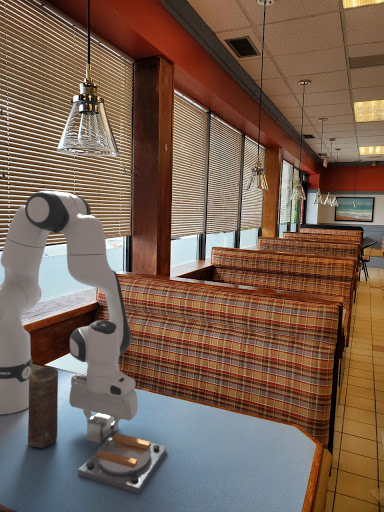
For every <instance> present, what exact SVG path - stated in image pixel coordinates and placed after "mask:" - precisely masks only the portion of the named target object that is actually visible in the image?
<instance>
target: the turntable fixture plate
mask: <svg viewBox="0 0 384 512" xmlns="http://www.w3.org/2000/svg"><path fill="white" fill-rule="evenodd" d="M166 453H167V446H165V445H161V444H158V443H153V442H151V441H148V440H145V439H142V438H140V437H138V436H137V437H136V436H129V435H125V434H121V433H117V432H116V433H115V432H111V433H110V435H109V436H108V438H107V439H105V440H104V441H103V442H102V444H101V445H100V446H98V448H97V449H96V450H95V451H94V452H93V453H92V454H91V455H90V456H89V457H88V458H87V460H86V461H84V463H83V464H82V465H81V466H79V468H78V469H77V476H79V477H83V478H86V479H88V480H92V481H96V482H98V481H99V483H101V482H102V484H106V485H108V486H112V487H115V488H119V489H122V490H125V491H128V492H131V493H134V494H137V495H139V494H140V493H141V491H142V490H143V488H144V486H145V485H146V483H147V482H148V481H149V479H150V478H151V476H152V474H153V473H154V471H155V470H156V468H157V467H158V465H159V463H160V462H161V461H162V459H163V457H164V456H165V455H166Z"/></svg>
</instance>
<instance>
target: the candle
mask: <svg viewBox="0 0 384 512" xmlns="http://www.w3.org/2000/svg"><path fill="white" fill-rule="evenodd" d="M58 390H59V370H58V369H57V368H56V367H53V366H41V367H39V368H36V369H34V370H33V371H32V373H31V374H30V375H29V407H28V421H27V445H29V446H30V447H34V448H35V447H36V448H40V449H43V448H45V447H47V446H48V447H49V446H50V445H51V444H53V443H54V442H56V441H57V439H58V426H59V425H58V414H59V413H58V406H59V405H58V404H59V403H58V402H59V399H58V397H59V394H58V392H59V391H58Z"/></svg>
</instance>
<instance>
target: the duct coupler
mask: <svg viewBox="0 0 384 512" xmlns="http://www.w3.org/2000/svg"><path fill="white" fill-rule="evenodd" d="M93 416H94V417H93V418H92V419H91V420H89V421H88V423H87V422H86V426H87V427H86V440H87V441H90V442H91V443H92V442H94V443H96V444H101V443H103V442H104V441H105V440H106V437H109V434H111V433H112V431H113V430H111V429H110V428H111V427H110V426H111V423H113V422H114V421H116V420H114V417H112V416H108V415H104V414H100V413H97V414H95V415H93Z"/></svg>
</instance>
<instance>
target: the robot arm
mask: <svg viewBox="0 0 384 512" xmlns="http://www.w3.org/2000/svg"><path fill="white" fill-rule="evenodd" d="M91 210H92V209H91V206H90V203H89V202H88V201H87V200H86V199H84V198H83V197H81V196H80V195H77V194H73V193H70V192H65V191H50V190H40V191H37V192H35V193H32V194H31V195H30V196H29V197H28V198H27V200H26V201H25V204H24V205H22V206H20V207H19V208H18V209H17V210H16V212H15V213H14V216H13V218H12V220H11V222H10V225H9V228H8V231H7V235H6V238H5V242H4V246H3V249H2V253H1V257H0V264H1V265H2V267H3V268H4V279H3V281H2V283H1V284H0V415H7V414H14V413H19V412H21V411H24V410H27V409H29V375H30V374H31V373H32V372H33V371H32V370H33V358H32V355H31V334H30V333H29V331H27V330H26V329H25V327H24V324H23V321H22V316H23V314H25V313H27V312H29V311H31V310H32V309H33V308H35V306H36V305H37V304H38V303H39V302H40V300H41V298H42V289H41V287H40V285H39V274H40V267H41V264H42V259H43V255H44V252H45V248H46V246H47V245H46V244H47V240H48V237H49V234H50V233H53V234H58V233H62V235H63V236H64V238H65V242H66V262H67V270H68V271H67V272H68V273H69V274H70V276H71V277H72V278H73V279H74V280H75V281H77V282H78V283H80V284H82V285H86V286H87V287H88V286H89V287H92V288H96V289H99V290H100V291H101V292H102V293H103V295H104V296H105V301H106V305H107V311H108V316H109V319H108V320H104V319H102V320H101V319H100V320H95V321H93V322H91V323H90V324H89V325H87V326H81V327H77V328H75V329H74V330H73V331H72V333H71V335H70V336H69V340H68V347H69V348H68V350H69V353H70V355H71V356H72V357H73V359H76V360H77V361H80V362H81V363H86V364H87V368H86V375H82V374H79V373H78V374H75V375H73V376H72V377H71V379H70V385H71V386H70V391H69V397H68V398H69V400H68V401H69V404H70V406H71V407H73V408H77V409H80V410H83V412H82V413H83V414H84V417H85V418H86V424H87V423H88V421H89V420H91V419H92V418H93V417H94V416H95V415H93V414H92V412H93V413H97V414H98V413H100V414H104V415H108V416H112V417H114V420H116V421H114V422H113V423H111V426H110V427H111V428H110V429H111V430H112V431H115V432H117V430H118V428H119V423H120V422H121V420H125V421H131V420H132V419H133V418H135V417H136V415H137V414H138V395H137V391H136V390H135V389H134V388H135V387H136V380H135V379H133V378H132V377H130V376H128V375H127V374H126V373H124V372H122V371H121V370H120V365H119V358H120V355H122V354H124V353H126V351H127V350H128V349H129V348H130V346H131V344H132V340H133V339H132V338H133V336H132V331H131V328H130V326H129V322H128V318H127V313H126V308H125V301H124V296H123V293H122V292H123V291H122V288H121V282H120V279H119V277H118V273H117V272H116V271H115V270H113V269H112V268H111V266H110V264H109V262H108V258H107V244H106V242H107V241H106V236H105V231H104V226H103V223H102V221H101V220H100V219H99V218H98V217H96V216H93V215H92V211H91Z"/></svg>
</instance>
